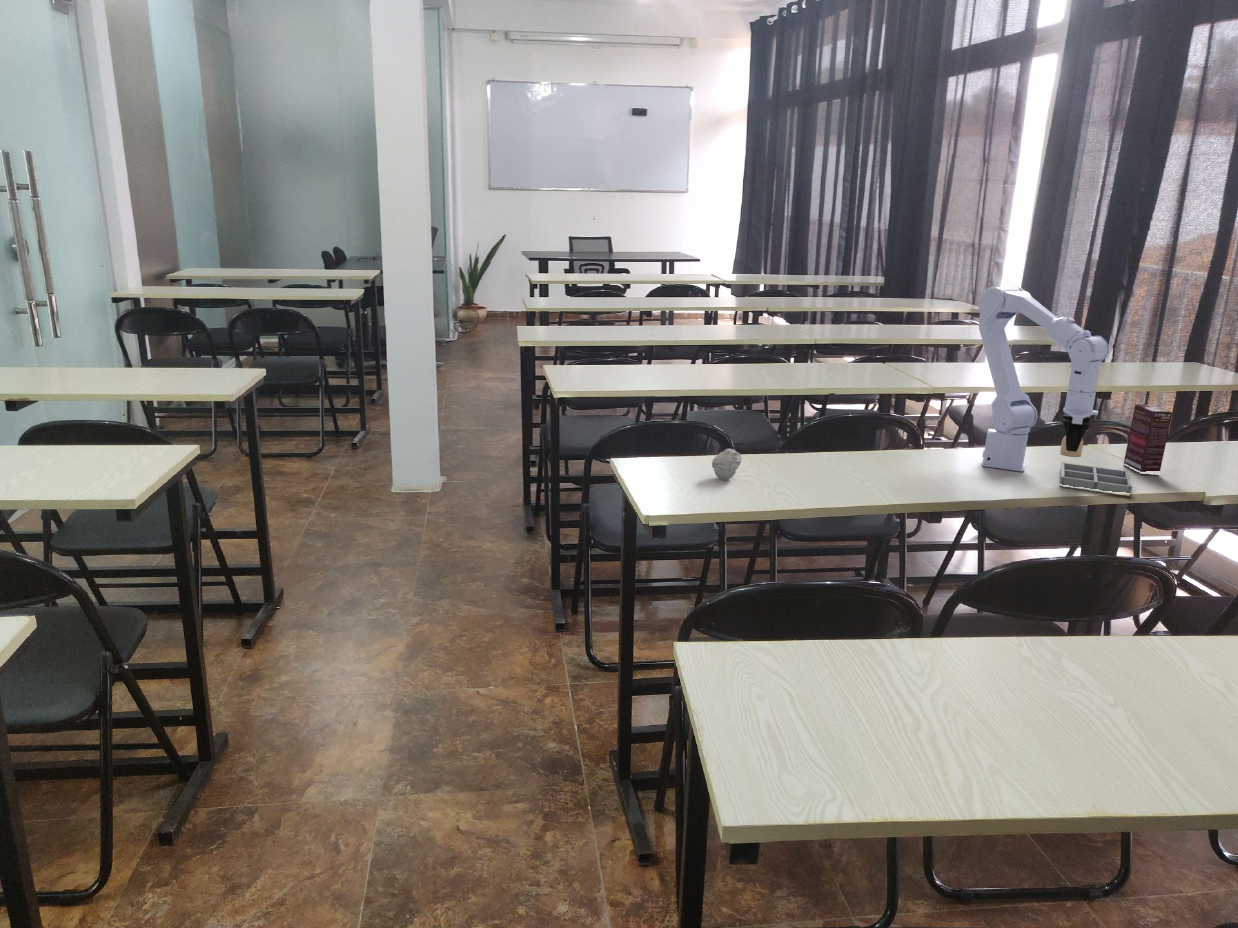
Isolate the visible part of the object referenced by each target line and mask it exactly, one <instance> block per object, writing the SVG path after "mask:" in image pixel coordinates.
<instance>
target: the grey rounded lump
mask: <svg viewBox="0 0 1238 928" xmlns="http://www.w3.org/2000/svg"><path fill="white" fill-rule="evenodd" d="M741 462H742V454H740V453H739V452H737V451H736V450H735V449H732V448H726V449H724V450H723V451H721V452H719V453H718V454H717V455H716V456H715V457H714V458H713V459H712V461H711V467H712V468H713V472H714V474H715V476H716V477H717V478H718V479H720V480H723V481H726V480H730V479H732V478H733V477H734V476H735V474H736V471H737V470H738V469H739V467H740V465H741Z"/></svg>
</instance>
